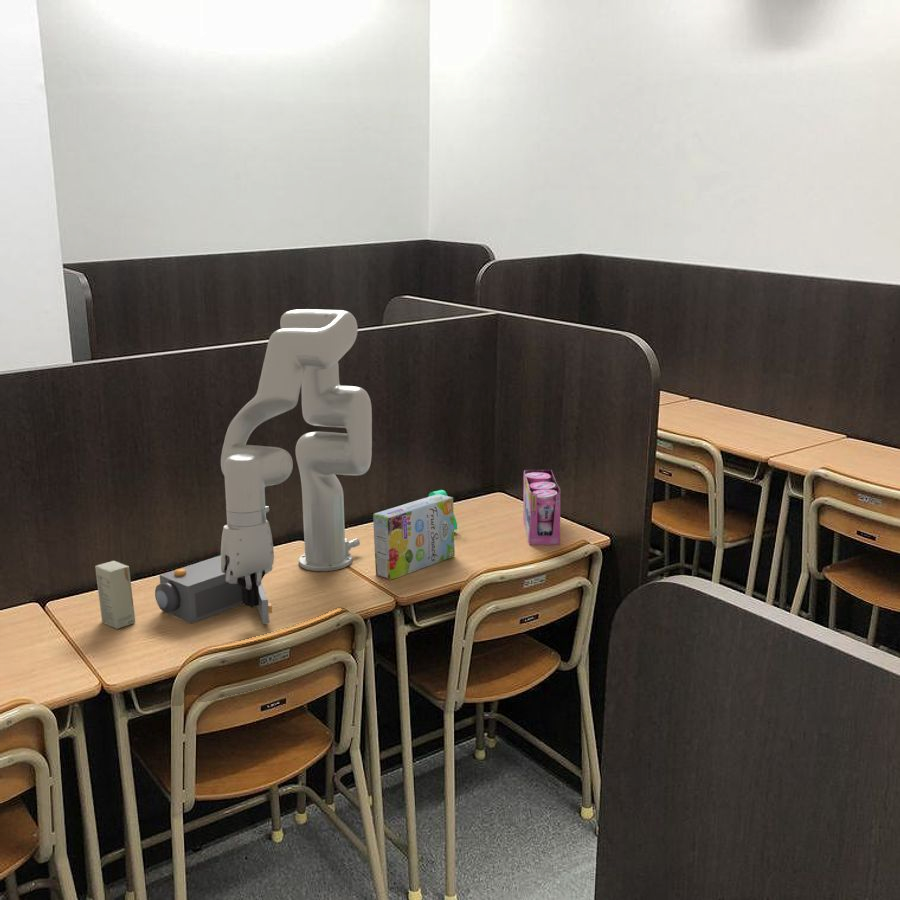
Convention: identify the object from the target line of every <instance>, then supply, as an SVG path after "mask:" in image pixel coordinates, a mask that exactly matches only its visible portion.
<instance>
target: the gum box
mask: <svg viewBox="0 0 900 900" xmlns="http://www.w3.org/2000/svg"><path fill="white" fill-rule="evenodd" d="M522 480H523V497H522V498H523V500H522V501H523V522H524V523H523V524H524V527H525V531H526V535H527V540H528V544H529V546H531V545H533V546H536V545H537V546H551V545H554V546H555V545H556V546H558V545H559V546H560V545H561V543H560V542H561V488H560V486H559V485H558V482H557V481H556V478H555V476H554V473H553V470H552V469H524V470H523V479H522Z"/></svg>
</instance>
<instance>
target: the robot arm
mask: <svg viewBox="0 0 900 900" xmlns="http://www.w3.org/2000/svg"><path fill="white" fill-rule="evenodd" d="M279 322H280V323H279V325H280V329H277V330H275V331H273V333H271V335H270V336H269V339H268V342H267V346H266V352H265V355H264V359H263V365H262V368H261V373H260V374H261V375H260V378H259V382H258V387H257V391H256V394H255V395H254V397H252V399H251V400H249V401H248V402H247V403H246V404H245V405H244V406H243V407H242V408H241V409H240V410H239V411H238V413H237V414H236V415H235V416H234V417H233V418H232V419H231V421H230V423H229V425H228V427H227V431H226V433H225V436H224V442H223V445H222V449H221V455H220V467H221V468H220V469H221V472H222V474H223V476H224V489H225V490H224V491H225V504H226V505H225V509H226V524H225V525H224V526H223V529H222V534H221V543H220V555H221V571H222V572H223V573H226V579H225V581H226V582H227V583H229V584H238V585H239V586H240V587H242V601H243V604H242V605H244V606H246V607H248V608H252V609H253V608H255V607H258V605H259V586H260V585H261V582H262V581H263V579H264V577H265V576H266V575H267V574H268V573H270V572H271V571H272V570H273V565H274V561H275V552H274V544H273V543H274V541H273V536H272V531H271V525H270V522H269V520H267V513H269V512H270V507H269V506H268V505H266V491H265V488H266V487H269V486H274V485H275V486H276V485H280V484H282V483H284V482H285V481H286V480H287V479H288V478H289V477H290V476H291V474H292V472H293V467H294V466H293V465H294V461H293V458H292V456H291V454H290V453H289V451H287V450H286V449H283V448H281V447H277V446H263V445H253V444H247V442H248V440H249V438H250V436H251V434H252V433H253V431H254V430H255V429H256V428H257V427H258V426H260V425H261V424H262V423H264V422H266V421H268V420H270V419H272V418H274V417H277V416H279V415H282V414H284V413H286V412H288V411H291V410H293V409H294V408H295V407H296V406H297V405H298V402H299V396H300V393H301V412H302V417H303V419H304V421H305V423H307V424H309V425H311V426H316V427H329V428H343V429H346V432H347V433H345V432H343V433H342V432H333V431H332V432H331V431H310V432H306V433H304V434H303V435H301V436H300V437H299V439H298V440H297V442H296V445H295V458H296V463H297V467H298V470H299V475H300V482H301V483H300V484H301V497H302V498H301V499H302V520H303V538H304V539H303V540H304V543H303V544H304V554H301V556H300V557H299V558H298V565H299V566H300V568H302V569H305V570H308V571H313V572H332V571H338V570H341V569H344V568H346V567H348V566H350V564H352V563H353V555H352V553H350V552H349V551H351V549H352V548H353V549H354V548H356V547H359V546H360V544H361V542H360V539H359V538H358V537H356V538H354V539H350V540H349V539H348V538H346V535H345V534H346V531H345V529H346V528H345V506H344V501H345V500H344V490H343V489H344V488H343V486H342V483H341V482H340V479H339V478H338V477H337V475H343V476H362V475H365V474H366V473H367V472H368V471H369V469H370V467H371V463H372V456H373V455H372V454H373V452H372V450H373V449H372V448H373V447H372V446H373V437H372V436H373V433H372V432H373V430H372V429H373V428H372V427H373V425H372V424H373V422H372V421H373V417H372V416H373V414H372V412H373V411H372V402H371V398H370V396H369V395H370V394H368V392H367V391H366V389H364V388H362V387H359V386H356V385H355V386H353V385H341V384H340V375H339V374H340V371H339V361H340V360H341V359H342V358H343V357H344V356H345V354H346V353H347V352H349V350H351V348H352V347H353V345H354V344H355V342H356V341H357V340H356V339H357V337H358V330H359V329H358V322H357V320H356V318H355V316H354V315H353V314H352V313H351V312H350V311H347V310H344V309H315V308H314V309H311V308H310V309H309V308H305V309H304V308H303V309H302V308H301V309H292V310H291V309H290V310H288V311H285V312H284V313H283V314H282V315H281V316H280V321H279Z"/></svg>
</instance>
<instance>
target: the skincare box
mask: <svg viewBox="0 0 900 900" xmlns="http://www.w3.org/2000/svg"><path fill="white" fill-rule="evenodd" d="M94 566H95V567H94V568H95V576H96V584H97V585H96V586H97V593H98V601H99V608H100V615H101V616H100V617H101V622H102V623H103V624H106V625H107V626H110V627H112V628H113V629H116V630H118V629H121V628H124V627H126V626H130V625H133V624H135V623H136V615H135V607H134V599H133V591H132V588H133V587H132V581H131V572H130V571H131V570H130V566H129V565H127V564H124V563H121V562H119V561H116V560H110V561H107V562H104V563H100V564H97V565H94Z"/></svg>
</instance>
